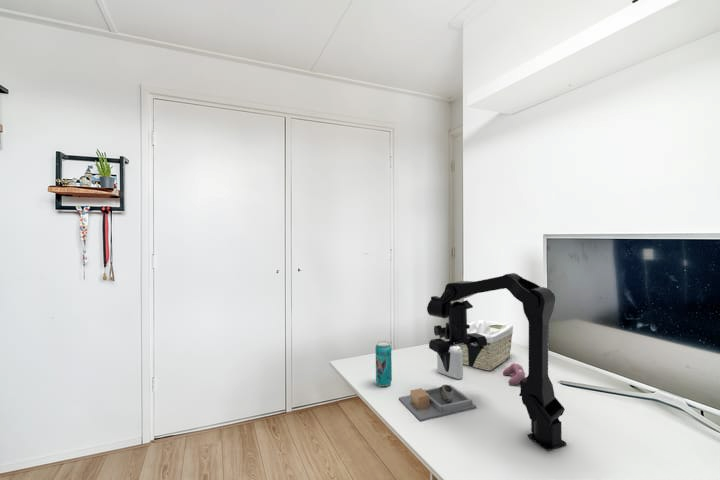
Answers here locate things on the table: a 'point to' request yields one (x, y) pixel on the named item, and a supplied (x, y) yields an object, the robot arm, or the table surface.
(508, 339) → the storage basket
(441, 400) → the grey tray
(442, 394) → the wristwatch
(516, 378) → the video game controller
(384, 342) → the beverage can
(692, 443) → the table surface
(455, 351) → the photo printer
